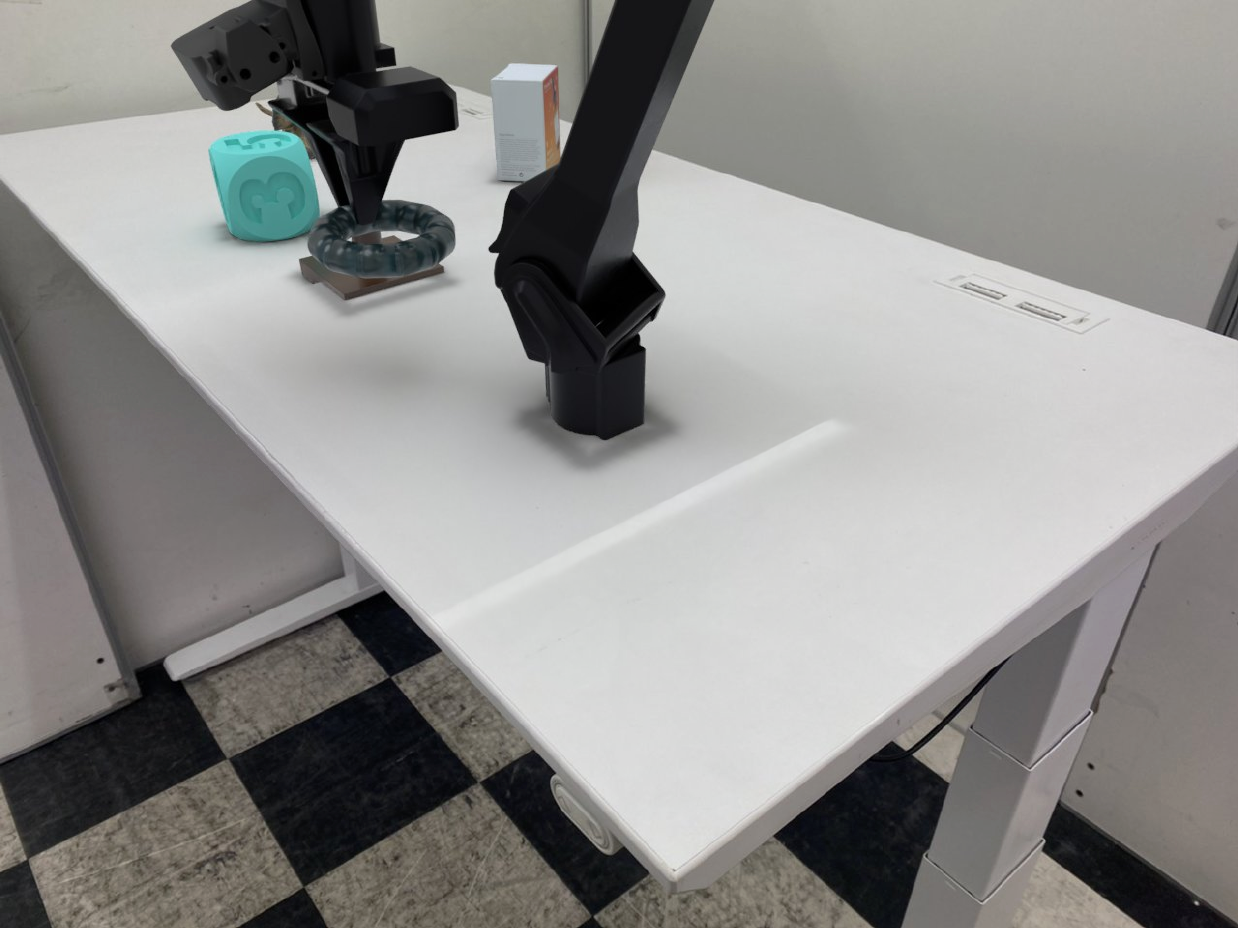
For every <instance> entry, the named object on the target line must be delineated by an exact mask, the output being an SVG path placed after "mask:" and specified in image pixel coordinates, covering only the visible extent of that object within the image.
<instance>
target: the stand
mask: <svg viewBox="0 0 1238 928" xmlns="http://www.w3.org/2000/svg"><path fill="white" fill-rule="evenodd" d="M351 241H352V242H357V243H362V244H388V243H397V242H401V241H403V239H401V238H399V237H397V236H396V235H392V234H391V235H389V236H384V237H382V232H371V233H367V234H363V235H359V236H355V237H351ZM298 264H299V268H300V273H301V276H302V277H304V278H305V279H306V280H308V281H309V282H310V283H311V284H312V285H316V284H319V283H322V284H323V285H325V287H327V288H328V289H329V290H331V291H332V292H334V293H335V294H336V295H337V296H339V297H340V298H342V300H344V301H348V300H352V299H356V298H359V297H362V296H366V295H369V294H372V293H377V292H380V291H384V290H387V289H391V288H395V287H398V286H401V285H405V284H408V283H413V282H415V281H419V280H423V279H427V278H430V277H433V276H436V275H440V274H443V273H445V267H444V265H443V264H440V263H438V264H437V265H436V266H434V267H433V268H431V269H428V270H424V271H420V272H417V273H413V274H410V275H406V276H402V277H390V278H360V277H355V276H351V275H346V274H342V273H337V272H333V271H331V270H329V269H328V268H326V267H325V266H324V265H323V264H321V263H320V262H319V261H318V260H317V259H315V258H314V257H313V256H312V255H310V256H306V257H301V258H298Z"/></svg>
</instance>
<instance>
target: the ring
mask: <svg viewBox="0 0 1238 928" xmlns="http://www.w3.org/2000/svg"><path fill="white" fill-rule="evenodd" d="M371 232H381V233H382V232H401V233H402V232H403V233H407V234H412V235H417V237H413V238H409V239H405V240H402V241H401V242H397V243H388V244H362V243H357V242H352V240H350V239H352V237H355V236H359V235H363V234H367V233H371ZM456 239H457V238H456V227H455V224H454V221H453V220H452V219H451V217H449V216H448V215H446V214H445V213H442V212H441V211H439V210H438V209H436V208H434V207H433V206H432V205H429V204H425V203H419V202H416V201H415V202H414V201H409V200H404V199H382V202H381V205H380V208H379V211H378V214H377V217H376V220H375V222H374V223H373V224H369V225H365V226H360V225H358V224H357V223H356V220H355V217H354V214H353V211H352V208H351V205H345V206H341V207H338V206H337V207H335V208H334V209H332V210H329V212H327V213H325V214H323V215H321V216H320V217H319V218H318V219H317V220H316V221H314V223H313V224H312V226H311V230H309V234H308V239H307V245H306V246H307V249H308V252H309V253H310V256H313V257H314V258H315V259H317V260H318V261H319V262H320V263H321V264H323V265H324V266H325V267H326V268H328V269H329V270H331V271H333V272H337V273H342V274H346V275H351V276H355V277H360V278H390V277H402V276H406V275H410V274H413V273H417V272H420V271H424V270H428V269H431V268H433V267H434V266H436V265H437V264H438V263H439V264H440V263H441V262H442V261H444V260H445V259H447V258H448V257H449V256H450V255H451V254H452V253H453V252H454V250H455V248H456V244H457V240H456Z"/></svg>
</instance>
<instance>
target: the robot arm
mask: <svg viewBox="0 0 1238 928" xmlns="http://www.w3.org/2000/svg"><path fill="white" fill-rule="evenodd" d="M376 3H377V2H376V0H248V1H247V2H245V3H243V4H240V5H238V6H236V7H233V8H231V9H228V10H226V11H224V12H223V13H221V14H218V15H217V16H215V17H213V18H211V19H209V20H208V21H206V22H204V23H202V24H201V25H199V26H197V27H194V28H193V29H191V30H189V31H187V32H186V33H184V34H182V35H180V36H179V37H178V38H176V39H175V40H174V41H172V43H171V44H170V48H171V49H172V51H173V53H174V54H175V56H176V58H177V59H178V61H179V62H180V64H181V66H182V67H183V69H184V70H185V72H186V74H187V75H188V77H189V79H190V80H191V82H192V84H193V85H194V86H195V88H196V90H197V92H198V93H199V95H200V96H201V98H202V99H203V100H204V101H206V102H207V101H209V102H211V103H213V104H214V105H216V107H217V108H218V109H219V110H221V111H222V112H223V111H224V112H230V111H235V110H237V109H240V108H242V107H244V106H245V105H248V104H249V103H250V102H251V100H252V97H253V96H255V95H257V94H259V93H260V92H262V91H263V90H265V89H267V88H269V87H270V86H272V85H274V84H275V83H276V88H277V93H278V94H277V95H279V99H276V98H274V99H273V98H272V99H270V100H268V101H267V105H268V106H269V107H270V108H271V110H272V109H274V110H275V111H277V112H278V113H280V114H281V115H282V116H284V117H285V118H287V119H288V120H289V121H291V122H292V123H293V124H295V125H296V126H298V127H299V128H300V129H301V130H302V132H303V133H304V135H305V137H306V139H307V141H308V143H309V145H310V147H311V149H312V151H313V154H314V156H315V157H314V158H315V160H316V162H317V164H318V167H319V169H320V171H321V173H322V175H323V177H324V179H325V182H326V184H327V186H328V189H329V191H330V193H331V195H332V198H333V199H334V201H335V203H336V206H337V208H338V207H341V206H345V205H351V208H352V211H353V214H354V217H355V220H356V223H357V224H358V225H360V226H365V225H369V224H373V223H374V222H375V220H376V217H377V214H378V211H379V208H380V205H381V202H382V200H384V196H385V194H386V191H387V188H388V184H389V181H390V179H391V176H392V173H393V171H394V168H395V166H396V162H397V160H398V159H399V156H400V153H401V150H402V148H403V146H404V143H405V141H407V140H413V139H418V138H423V137H428V136H433V135H438V134H439V135H440V134H443V133H448V132H449V133H450V132H454V131H457V130H458V128H459V127H460V122H459V121H460V120H459V109H458V98H457V92H456V91H455V90H454V89H453V88H452V87H451V86H450V85H449V84H448V83H447V82H446V81H445V80H443V78H441V77H440V76H437V75H436V74H435V75H434V74H432V73H429V72H427V71H424V70H421V69H419V68H416V67H414V66H402V67H397V58H396V50H395V49H396V48H395V47H394V46H391V45H389V44H385V43H383V42H381V37H380V28H379V20H378V11H377V4H376ZM714 3H715V0H614V2H613V5H612V7H611V11H610V12H609V13H610V14H609V16H608V19H607V22H606V25H605V27H604V31H603V34H602V37H601V39H600V42H599V45H598V48H597V51H596V54H595V57H594V59H593V62H592V66H591V69H590V71H589V74H588V76H587V80H586V83H585V86H584V89H583V91H582V95H581V97H580V101H579V103H578V107H577V109H576V112H575V115H574V118H573V120H572V123H571V126H570V129H569V132H568V135H567V138H566V141H565V144H564V147H563V150H562V152H561V154H560V155H561V158H560V161H559V163H558V164H556V165H554V166H552V167H550V168H549V169H547V170H545V171H543V172H541V173H540V174H538V175H536V176H534V177H532V178H531V179H529V180H527V181H522V183H520V184H518V185H516V186H514V187H513V188H511V189H510V190H509V191H508V194H507V197H506V200H505V202H504V205H503V214H502V221H501V227H500V230H499V232H498V234H497V237H496V239H495V240H494V241H493V242H492V243H491V244H490V245H489V246H488V248H487V250H488V252H489V253H490V254H498V255H497V257H496V259H495V262H494V270H493V279H494V285H495V287H496V288H497V289H498V290H500V293H501V295H502V298H503V300H504V301H505V303H506V305H507V306H506V307H507V309H508V312H509V313H510V316H511V318H512V321H513V323H514V326H515V329H516V332H517V334H518V337H519V340H520V342H521V345H522V347H523V350H524V353H525V355H526V358H527V359H528V360H530V361H532V362H538V363H541V364H544V369H545V370H544V376H545V397H546V398H547V402H548V403H549V404H550V414H551V419H552V420H553V422H554V423H555V424H556V425H557V426H558V427H560V428H562V429H564V430H565V431H567V432H570V433H573V434H576V435H583V436H593V437H597V438H598V439H600V441H601V440H602V441H609V440H611V439H613V438H615V437H617V436H620V435H622V434H624V433H627V432H630V431H631V430H634V429H636V428H638V427H641V426H643V425H644V424H645V412H646V411H645V407H646V406H645V404H646V371H647V369H646V367H647V366H646V364H647V348H646V347H645V346H643V345H642V344H641V342H642V340H641V335H640V332H641V331H642V330H643V329H644V328H645V327H646V326H647V325H649V323H652V322H654V321H655V320H656V319H657V318H658V315H659V312H660V311H661V309H662V306H663V303H664V301H665V299H666V296H667V294H666V290H665V289H664V288H663V286H661V285H660V283H659V282H658V281H657V279H656V278H655V277H654V276H653V275H652V273H651V272H650V271H649V270H648V268H647V267H646V266H645V264H644V263H643V262H642V261H641V260H640V259H639V257H638V255H637V254H636V253H635V252H634V247H635V243H636V238H637V234H638V230H639V227H640V213H639V212H640V209H639V192H638V191H639V186H640V181H641V177H642V175H643V173H644V170H645V168H646V166H647V163H648V161H649V158H650V157H651V155H652V151H653V149H654V146H655V144H656V142H657V139H658V137H659V134H660V132H661V130H662V127H663V125H664V122H665V121H666V118H667V115H668V113H669V111H670V109H671V105H672V103H673V101H674V98H675V96H676V94H677V92H678V89H679V86H680V84H681V81H682V80H683V77H684V75H685V72H686V70H687V67H688V65H689V62H690V60H691V59H692V56H693V53H694V52H695V48H696V46H697V45H698V41H699V39H700V36H701V34H702V32H703V29H704V26H705V24H706V23H707V22H706V21H707V19H708V17H709V14H710V12H711V10H712V7H713V5H714ZM390 67H396V68H390ZM384 68H388V69H384ZM389 68H390V69H389ZM377 69H383V70H377Z"/></svg>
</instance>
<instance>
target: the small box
mask: <svg viewBox="0 0 1238 928" xmlns="http://www.w3.org/2000/svg"><path fill="white" fill-rule="evenodd" d="M559 81H560V80H559V66H558V65H557V64H556V65H554V64H536V63H535V64H534V63H515V62H514V63H513V62H512V63H511V62H510V63H509V64H507V66H506V67H504V68H503V70H502V71H500V72H499V73H498V74H497V75H496V76H494V77H492V78H491V79H490V93H491V103H492V121H493V135H494V147H495V149H494V150H495V161H496V173H497V181H504V182H505V181H506V182H509V181H510V182H525V181H527V180H529V179H531V178H532V177H534V176H536V175H538V174H540V173H541V172H543V171H545V170H547V169H549V168H550V167H552V166H554V165H556V164H558V163H559V161H560V158H561V155H562V154H561V124H560V122H561V121H560V86H559Z"/></svg>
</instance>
